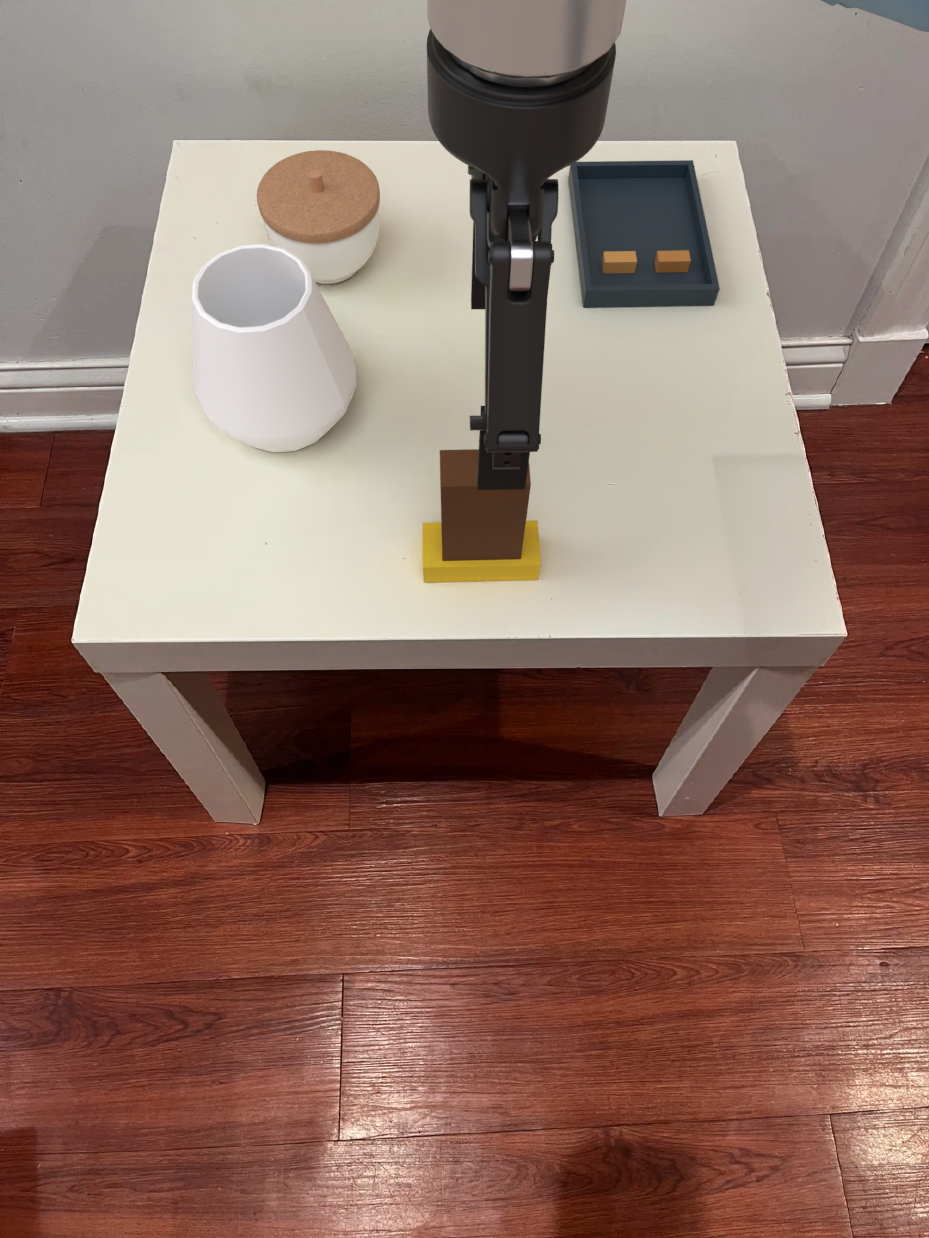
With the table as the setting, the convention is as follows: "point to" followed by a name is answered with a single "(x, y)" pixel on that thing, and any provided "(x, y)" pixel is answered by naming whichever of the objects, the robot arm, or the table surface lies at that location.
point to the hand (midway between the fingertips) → (496, 390)
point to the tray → (641, 232)
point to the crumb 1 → (619, 262)
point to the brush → (479, 528)
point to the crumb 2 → (672, 261)
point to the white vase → (267, 350)
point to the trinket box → (322, 211)
